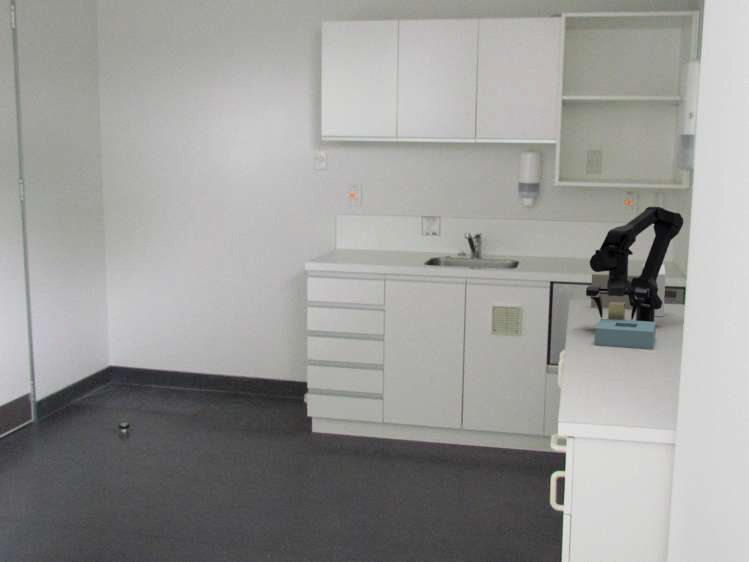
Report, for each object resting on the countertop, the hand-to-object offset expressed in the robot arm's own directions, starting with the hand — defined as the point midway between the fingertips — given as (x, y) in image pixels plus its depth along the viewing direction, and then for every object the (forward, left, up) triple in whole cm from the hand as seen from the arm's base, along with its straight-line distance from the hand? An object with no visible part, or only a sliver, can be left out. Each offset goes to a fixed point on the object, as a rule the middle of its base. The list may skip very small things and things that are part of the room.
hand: (616, 318), depth 248 cm
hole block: (+15, +4, -4) cm, 16 cm away
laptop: (-48, -4, -4) cm, 48 cm away
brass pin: (0, 0, -4) cm, 4 cm away
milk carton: (-34, +9, -4) cm, 35 cm away
